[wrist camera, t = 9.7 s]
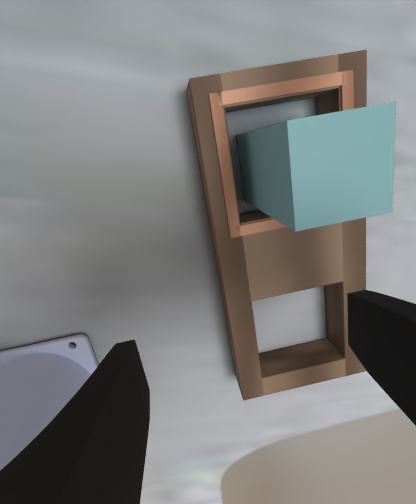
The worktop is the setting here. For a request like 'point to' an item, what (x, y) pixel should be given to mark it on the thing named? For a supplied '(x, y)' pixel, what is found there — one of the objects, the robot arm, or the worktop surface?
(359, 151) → the peg
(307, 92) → the wooden double hole frame
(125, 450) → the robot arm
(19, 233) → the worktop surface
